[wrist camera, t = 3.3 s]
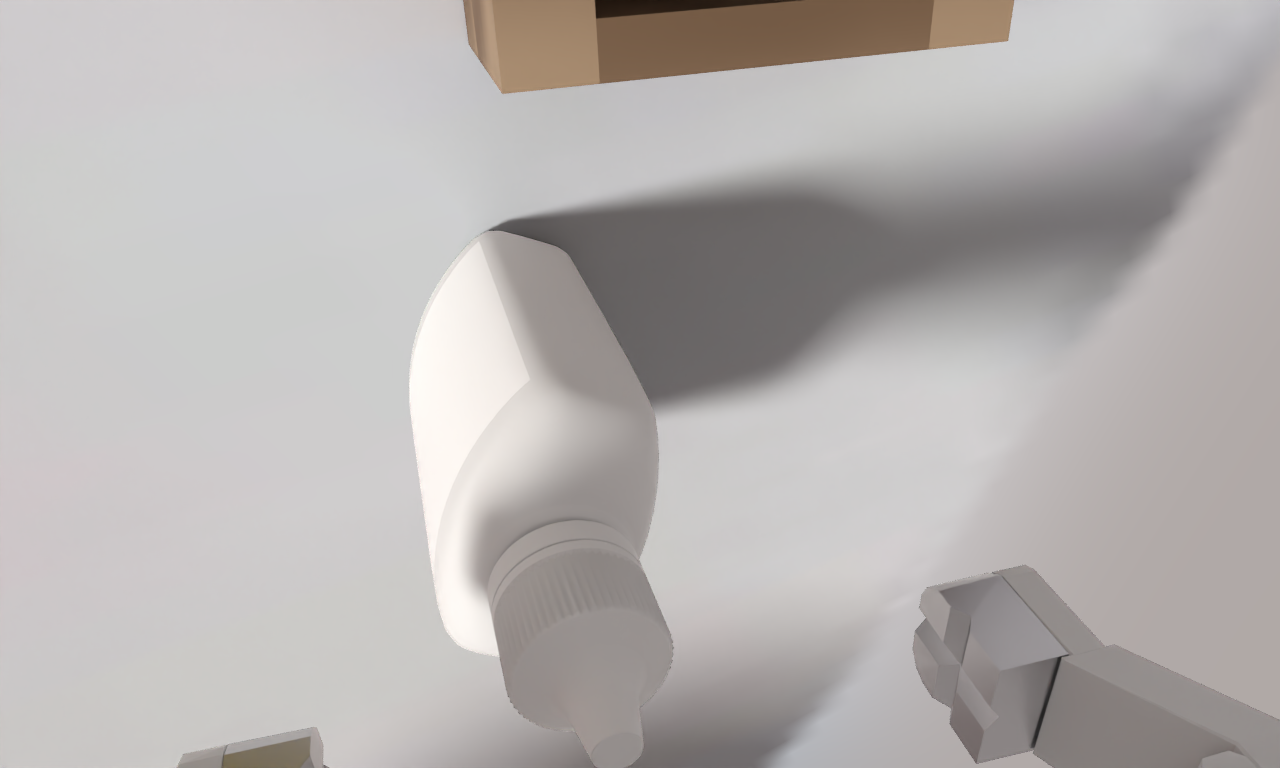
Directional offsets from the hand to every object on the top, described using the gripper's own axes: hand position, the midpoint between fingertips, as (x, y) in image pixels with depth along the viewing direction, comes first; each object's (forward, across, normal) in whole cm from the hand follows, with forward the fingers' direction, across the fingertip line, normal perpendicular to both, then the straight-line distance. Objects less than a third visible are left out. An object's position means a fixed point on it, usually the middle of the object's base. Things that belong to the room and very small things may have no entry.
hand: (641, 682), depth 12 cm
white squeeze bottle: (+12, -1, -1) cm, 12 cm away
